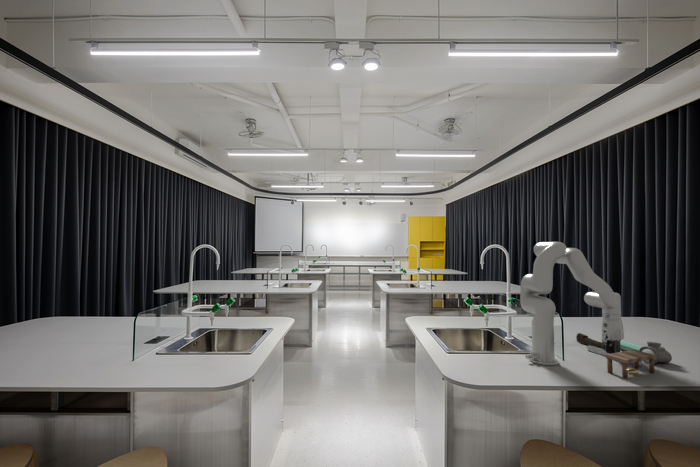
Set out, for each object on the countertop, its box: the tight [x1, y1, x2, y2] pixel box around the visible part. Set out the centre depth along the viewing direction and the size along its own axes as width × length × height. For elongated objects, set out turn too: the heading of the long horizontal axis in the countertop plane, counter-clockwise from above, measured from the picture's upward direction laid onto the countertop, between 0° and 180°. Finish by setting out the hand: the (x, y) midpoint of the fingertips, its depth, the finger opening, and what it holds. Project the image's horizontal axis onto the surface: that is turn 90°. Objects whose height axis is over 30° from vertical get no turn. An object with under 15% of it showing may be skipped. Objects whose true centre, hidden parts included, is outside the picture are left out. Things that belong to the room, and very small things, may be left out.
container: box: [601, 338, 642, 352], centre depth 175 cm, size 6×6×25 cm
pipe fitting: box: [639, 341, 673, 365], centre depth 158 cm, size 12×8×10 cm
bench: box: [605, 350, 655, 380], centre depth 146 cm, size 20×8×8 cm, turn 109°
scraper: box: [586, 340, 643, 367], centre depth 165 cm, size 4×24×8 cm, turn 19°
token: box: [628, 366, 639, 376], centre depth 146 cm, size 5×5×2 cm
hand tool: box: [575, 332, 605, 350], centre depth 183 cm, size 23×5×6 cm, turn 0°
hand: (612, 352), depth 165 cm, fingers closed on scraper, 3 cm apart
